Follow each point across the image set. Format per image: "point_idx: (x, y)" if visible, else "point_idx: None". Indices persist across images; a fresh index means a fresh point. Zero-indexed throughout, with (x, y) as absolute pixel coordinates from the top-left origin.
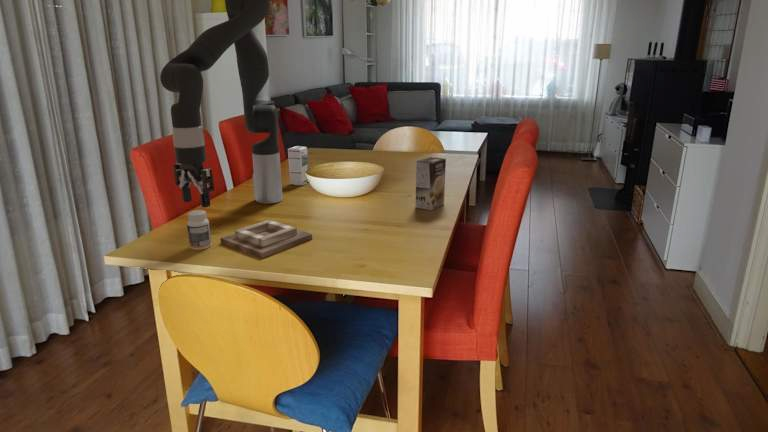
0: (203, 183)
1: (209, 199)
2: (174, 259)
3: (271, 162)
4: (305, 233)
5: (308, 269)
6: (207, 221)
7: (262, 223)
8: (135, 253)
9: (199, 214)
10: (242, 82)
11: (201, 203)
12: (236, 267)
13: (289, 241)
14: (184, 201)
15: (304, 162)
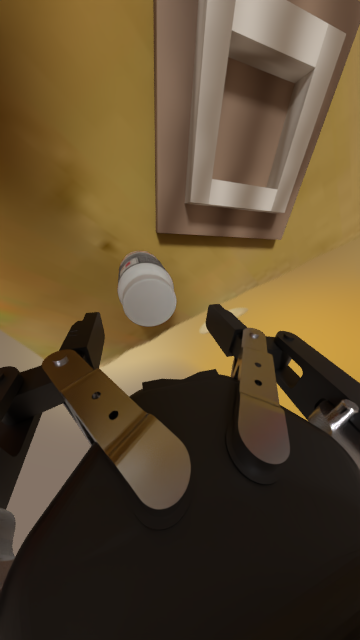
0: (292, 393)
1: (237, 320)
2: (158, 326)
3: None
4: (345, 16)
5: (347, 226)
6: (169, 278)
7: (218, 60)
8: None
9: (172, 308)
10: None
11: (212, 333)
12: (253, 286)
13: (313, 139)
14: (103, 338)
15: None
